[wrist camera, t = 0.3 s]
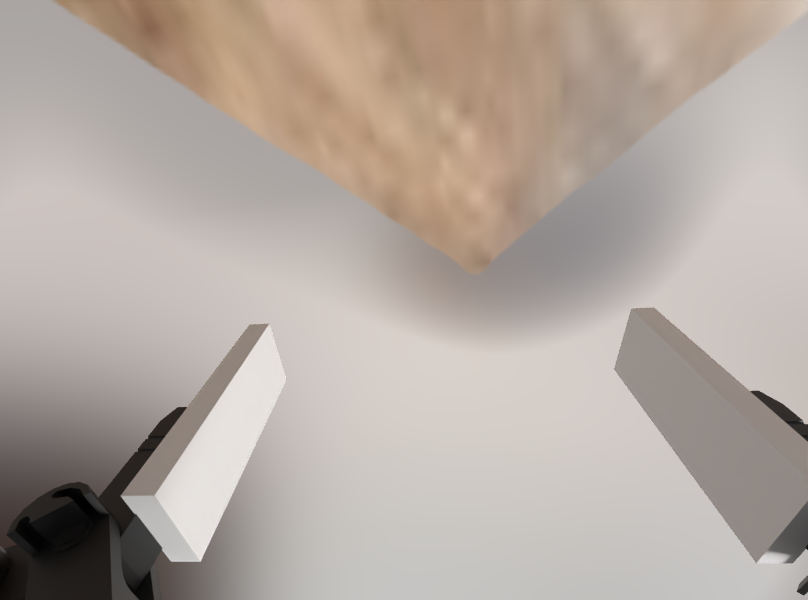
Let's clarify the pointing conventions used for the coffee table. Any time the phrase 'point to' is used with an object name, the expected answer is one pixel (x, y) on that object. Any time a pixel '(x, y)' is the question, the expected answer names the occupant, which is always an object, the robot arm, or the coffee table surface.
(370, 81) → the coffee table surface
